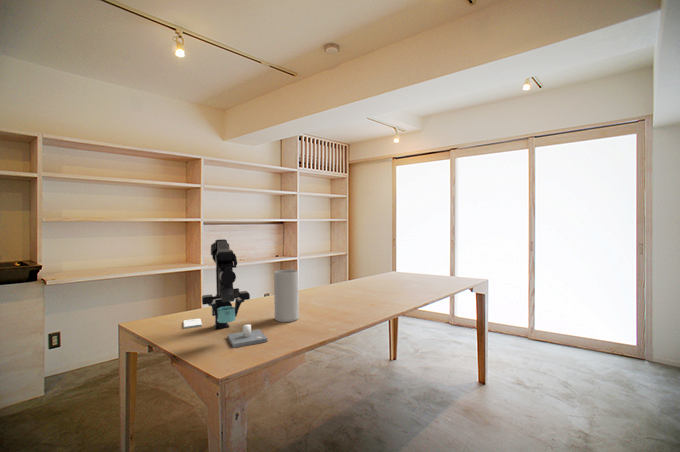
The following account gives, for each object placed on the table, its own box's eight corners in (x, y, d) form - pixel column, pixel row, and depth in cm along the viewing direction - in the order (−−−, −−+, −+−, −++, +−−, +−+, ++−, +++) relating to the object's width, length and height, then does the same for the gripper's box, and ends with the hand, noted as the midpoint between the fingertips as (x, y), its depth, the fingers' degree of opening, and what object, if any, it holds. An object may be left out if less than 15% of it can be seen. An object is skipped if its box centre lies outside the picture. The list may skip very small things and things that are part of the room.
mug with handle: (216, 319, 142) (216, 307, 142) (233, 317, 145) (233, 305, 145) (218, 324, 135) (218, 312, 135) (236, 322, 138) (236, 310, 138)
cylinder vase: (294, 323, 167) (293, 273, 167) (270, 322, 169) (270, 272, 169) (302, 316, 179) (301, 269, 179) (280, 315, 182) (279, 269, 181)
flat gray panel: (227, 337, 147) (227, 324, 147) (259, 332, 153) (259, 319, 153) (233, 347, 135) (232, 333, 134) (267, 341, 141) (267, 327, 141)
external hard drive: (183, 330, 160) (183, 323, 172) (202, 327, 164) (200, 321, 175) (183, 326, 160) (183, 320, 172) (202, 324, 164) (200, 318, 175)
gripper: (203, 286, 129) (204, 326, 129) (252, 281, 137) (252, 319, 137) (201, 281, 139) (202, 319, 139) (247, 277, 147) (247, 313, 147)
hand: (226, 317), depth 141 cm, fingers closed on mug with handle, 7 cm apart
